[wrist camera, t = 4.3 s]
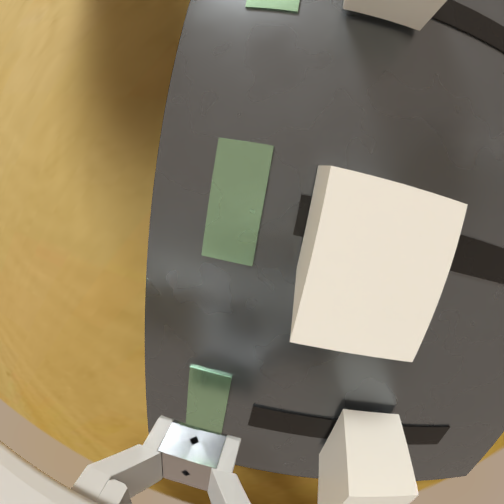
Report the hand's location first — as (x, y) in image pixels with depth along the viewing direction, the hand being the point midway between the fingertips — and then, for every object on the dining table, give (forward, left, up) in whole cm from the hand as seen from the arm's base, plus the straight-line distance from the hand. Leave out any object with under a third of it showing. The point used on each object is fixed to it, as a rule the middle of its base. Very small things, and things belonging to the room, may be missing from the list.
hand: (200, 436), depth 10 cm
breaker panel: (-6, -8, -5) cm, 11 cm away
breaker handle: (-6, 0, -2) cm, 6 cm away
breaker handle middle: (-3, -8, -2) cm, 9 cm away
